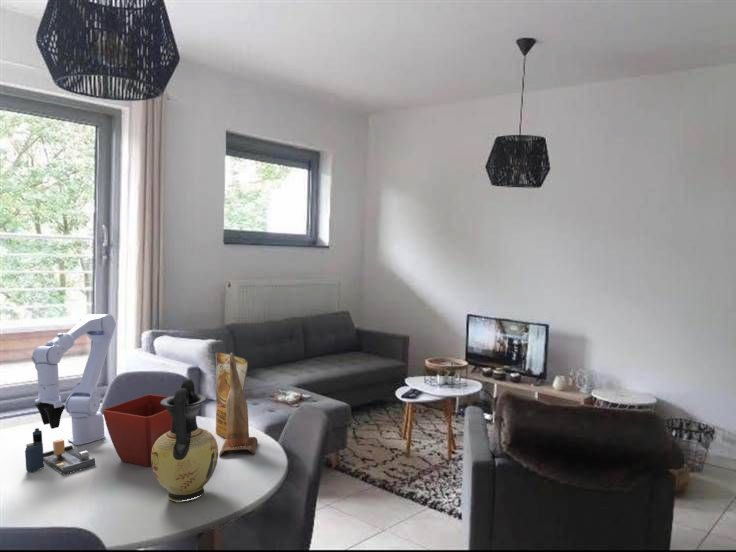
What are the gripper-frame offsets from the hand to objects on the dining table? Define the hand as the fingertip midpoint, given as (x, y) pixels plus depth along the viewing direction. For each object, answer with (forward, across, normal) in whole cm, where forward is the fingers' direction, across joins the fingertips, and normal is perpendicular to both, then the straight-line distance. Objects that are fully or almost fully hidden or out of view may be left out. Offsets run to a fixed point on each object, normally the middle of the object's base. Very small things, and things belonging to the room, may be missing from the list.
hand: (51, 425), depth 180 cm
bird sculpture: (+10, +43, +40) cm, 60 cm away
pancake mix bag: (+10, +29, +47) cm, 56 cm away
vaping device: (+10, +7, -7) cm, 14 cm away
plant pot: (+10, +26, +20) cm, 34 cm away
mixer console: (+10, +10, +1) cm, 14 cm away
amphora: (+10, +59, +12) cm, 61 cm away
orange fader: (+9, +6, 0) cm, 10 cm away
